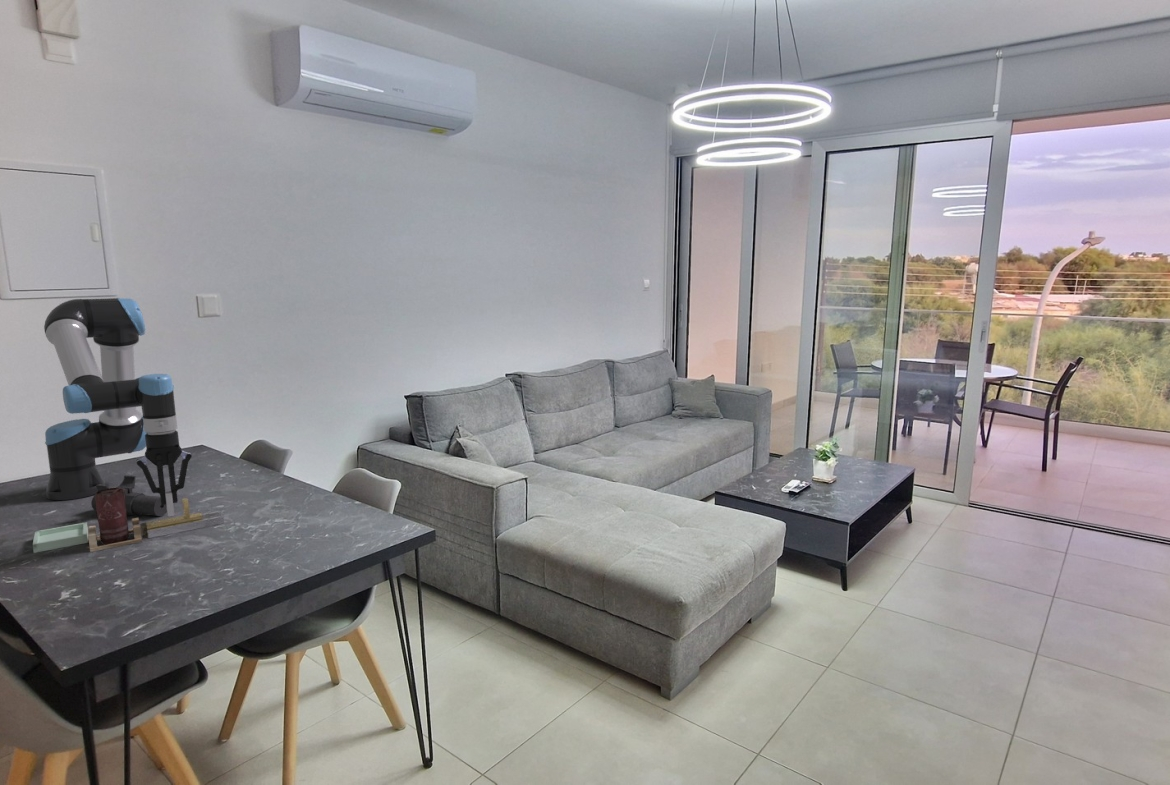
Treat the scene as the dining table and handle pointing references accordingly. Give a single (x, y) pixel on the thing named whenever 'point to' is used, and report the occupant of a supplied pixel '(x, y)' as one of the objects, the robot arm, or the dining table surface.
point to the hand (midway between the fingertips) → (170, 514)
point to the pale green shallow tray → (60, 537)
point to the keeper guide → (188, 525)
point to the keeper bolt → (171, 520)
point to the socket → (94, 538)
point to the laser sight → (136, 500)
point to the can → (112, 515)
